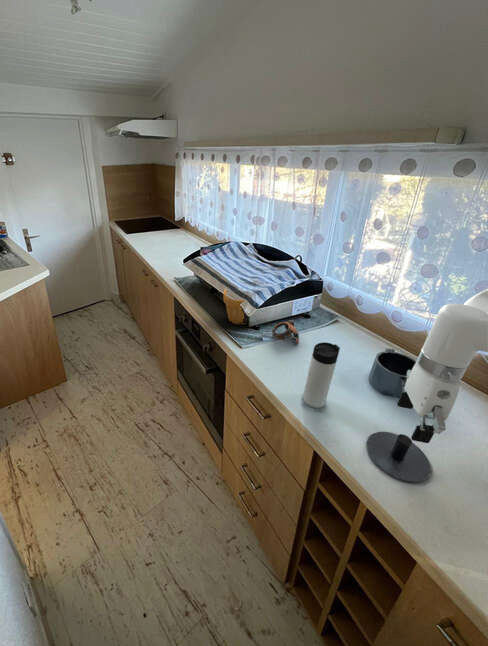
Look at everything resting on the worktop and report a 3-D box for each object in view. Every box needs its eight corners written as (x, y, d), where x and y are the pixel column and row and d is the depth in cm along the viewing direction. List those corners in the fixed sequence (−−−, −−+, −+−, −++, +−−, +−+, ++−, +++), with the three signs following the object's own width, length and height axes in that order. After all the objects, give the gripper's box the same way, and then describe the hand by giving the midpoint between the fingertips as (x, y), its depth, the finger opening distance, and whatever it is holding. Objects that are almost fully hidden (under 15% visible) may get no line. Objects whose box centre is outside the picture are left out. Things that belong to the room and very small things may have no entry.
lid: (417, 441, 79) (426, 423, 76) (439, 491, 68) (451, 473, 64) (360, 429, 82) (366, 412, 79) (372, 476, 71) (380, 457, 68)
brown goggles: (299, 350, 114) (290, 335, 111) (275, 352, 120) (266, 337, 117) (304, 328, 122) (296, 313, 119) (282, 330, 128) (274, 316, 125)
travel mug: (329, 408, 89) (345, 353, 80) (308, 411, 88) (322, 355, 79) (318, 392, 94) (332, 339, 85) (298, 395, 93) (310, 342, 84)
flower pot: (259, 327, 128) (262, 299, 122) (225, 328, 127) (227, 301, 121) (250, 310, 140) (253, 285, 134) (220, 312, 140) (221, 286, 133)
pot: (403, 370, 103) (411, 349, 99) (423, 409, 88) (434, 387, 84) (363, 364, 106) (369, 344, 102) (375, 401, 91) (384, 379, 87)
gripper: (487, 398, 53) (447, 461, 61) (443, 342, 67) (416, 398, 76) (437, 389, 55) (405, 451, 63) (405, 336, 69) (382, 392, 77)
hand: (411, 422), depth 69 cm, fingers open, 9 cm apart
